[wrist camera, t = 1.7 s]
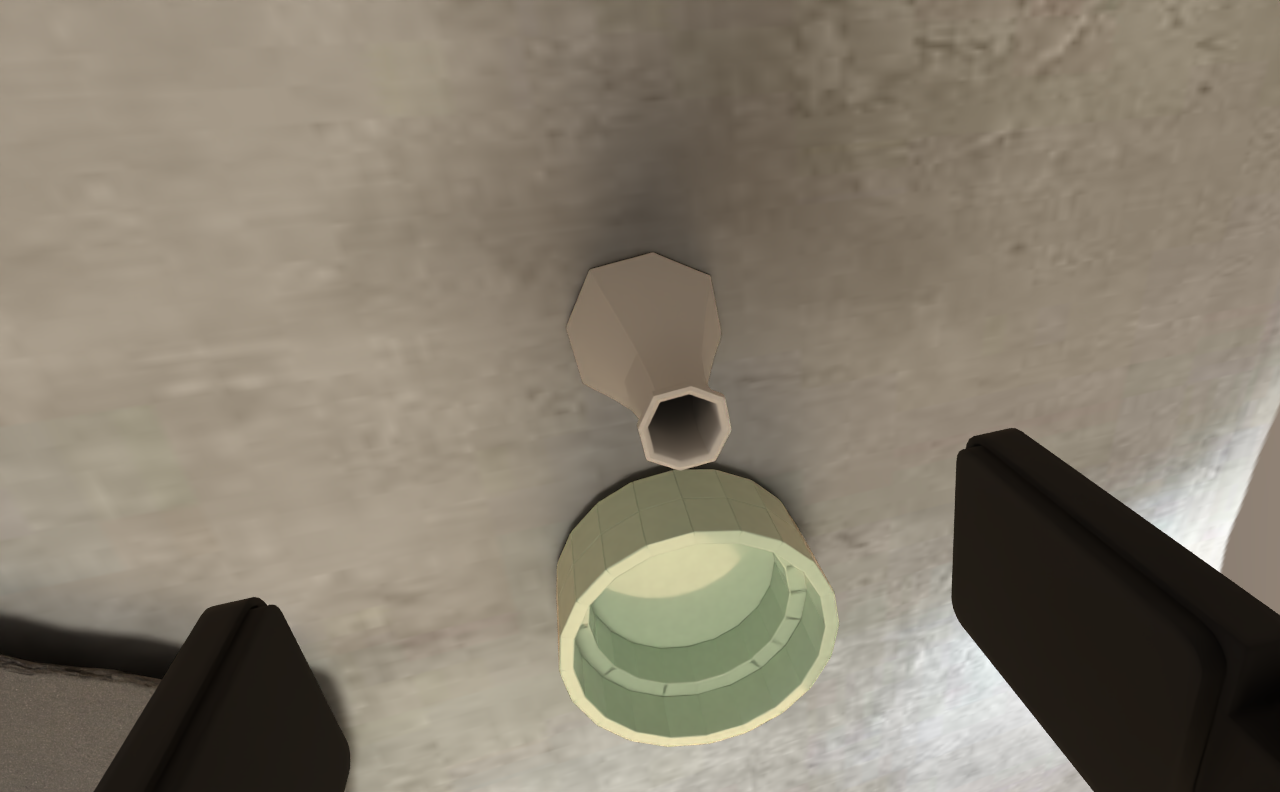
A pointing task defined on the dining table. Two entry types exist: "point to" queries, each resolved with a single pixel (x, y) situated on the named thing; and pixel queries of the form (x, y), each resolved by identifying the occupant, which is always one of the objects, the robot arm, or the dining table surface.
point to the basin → (690, 609)
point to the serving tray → (64, 723)
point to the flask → (654, 354)
